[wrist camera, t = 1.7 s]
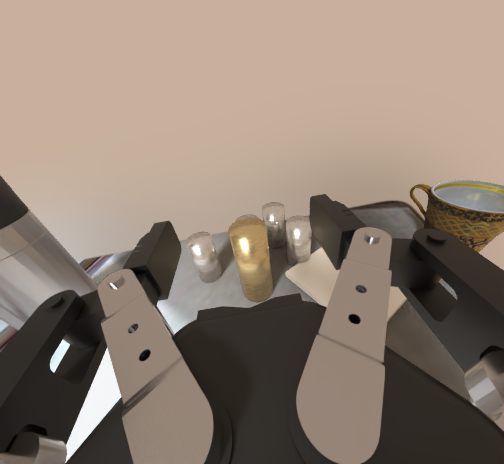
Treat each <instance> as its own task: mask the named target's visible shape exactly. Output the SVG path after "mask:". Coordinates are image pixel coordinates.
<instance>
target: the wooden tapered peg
mask: <svg viewBox="0 0 504 464" xmlns="http://www.w3.org/2000/svg"><path fill="white" fill-rule="evenodd" d="M228 233H229V237H230V241H231V245H232V249H233V253H234V257H235V260H236V264H237V268H238V272H239V276H240V280H241V284H242V288H243V292H244V295H245V297H246V298H247V299H249V300H250V301H253V302H261V301H265V300H266V299H268V298H269V297H270V296H271V295H272V293H273V281H272V273H271V264H270V255H269V247H268V238H267V229H266V224H265V222H264V221H262V220H260V219H257V218H245V219H241V220H238V221H236V222H235V223H233V224H232V225H231V226H230V227H229V230H228Z"/></svg>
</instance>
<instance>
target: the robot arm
mask: <svg viewBox="0 0 504 464" xmlns="http://www.w3.org/2000/svg"><path fill="white" fill-rule="evenodd" d="M310 227H311V230H312V232H313V233H314V235H315V236H316V238H317V240H318V241H319V243H320V245H321V246H322V248H323V250H324V251H325V253H326V255H327V256H328V258H329V259H330V261H331V263H332V264H333V266H334V268H335V269H336V270H340V271H339V274H338V277H337V280H336V283H335V286H334V289H333V292H332V295H331V297H330V300H329V303H328V306H327V307H325V306H323V305H320V304H317V303H313V302H308V301H302V298H301V295H300V293H298V294H292V295H286V296H280V297H275V298H272V299H270V300H268V301H265V302H263V303H260V304H258V305H256V306H253V307H251V308H240V307H224V306H223V307H217V308H211V309H205V310H200V311H198V315H197V320H195V321H193V322H191V323H189V324H187V325H186V326H184V327H183V328H182V329H180V330H179V331H178V332H177V333H176V334H174V333H173V331H172V329H171V328H170V326H169V325H168V323H167V321H166V320H165V318H164V317H163V315H162V313H161V312H160V310H159V309H158V307H157V306H156V305H157V302H158V301H159V300H165V299H168V296H169V292H170V289H171V285H172V282H173V279H174V275H175V272H176V268H177V265H178V261H179V258H180V255H181V244H180V241H179V239H178V237H177V235H176V233H175V230H174V228H173V226H172V224H171V222H170V221H165V222H159V223H155V224H154V225H153V227H152V229H151V231H150V232H149V233H147V234H146V235H145V236H144V237H143V238H141V239H140V241H139V242H138V244H137V246H136V247H135V249H134V251H133V253H132V254H131V256H130V257H129V259H128V261H127V262H126V264H125V266H124V267H123V269H122V270H118V271H116V272H114V273H112V274H110V275H109V276H107V277H106V278H105V279H104V280H103V281H102V282H101V283H100V284H99V286H98V285H97V284H96V282H94V281H93V280H92V278H91V277H90V276H89V275H88V274H87V273H86V272H85V271H84V269H83V268H82V267H81V266H80V265H79V264H78V263H77V262H76V261H75V259H74V258H73V257H72V256H71V255H70V254H69V253H68V252H67V251H66V249H65V248H64V247H63V246H62V245H61V244H60V243H59V242H58V241H57V239H55V237H54V236H53V235H52V234H51V233H50V232H49V231H48V230H47V228H46V227H45V226H44V225H43V224H42V223H41V222H40V221H39V220H38V218H37V217H36V216H35V215H34V214H33V213H32V212H31V211H30V210H29V209H28V207H27V206H26V205H25V204H24V203H23V202H22V201H21V200H20V199H19V197H18V196H17V195H16V194H15V193H14V191H13V190H12V189H11V188H10V186H9V185H8V184H7V183H6V182H5V180H4V179H3V178H2V177H1V176H0V319H1V320H3V321H4V322H6V323H7V324H9V325H10V326H12V327H14V328H15V329H17V330H18V332H17V333H16V334H15V336H14V337H13V338H12V339H11V340H10V342H9V343H8V344H7V345H6V346H5V348H4V349H3V350H2V351H1V352H0V464H504V270H502V269H500V268H499V267H498V266H496V265H495V264H493V263H492V262H490V261H489V260H488V259H486V258H485V257H483V256H482V255H480V254H479V253H478V252H476V251H475V250H473V249H472V248H470V247H469V246H467V245H466V244H465V243H463V242H462V241H460V240H459V239H457V238H456V237H454V236H453V235H451V234H449V233H447V232H444V231H441V230H436V229H420V230H417V231H416V232H415V233H414V235H413V238H412V239H395V238H391V236H390V235H389V234H388V233H387V232H385V231H383V230H381V229H378V228H372V227H367V226H366V225H365V224H363V223H362V222H361V221H360V220H359V219H358V218H357V217H356V216H355V215H353V213H352V212H351V211H349V209H348V208H347V207H346V206H345V205H344V204H341V203H339V202H337V201H332V200H331V199H330V198H329V197H328V196H327V195H326V194H323V195H317V196H312V197H311V198H310ZM441 278H442V279H443V280H444V281H445V282H446V283H447V284H448V285H450V286H451V287H452V288H453V290H454V291H455V293H456V295H457V299H458V300H456V299H455V298H454V297H453V296H452V295H451V294H450V293H449V292H448V291H447V290H446V289H445V288H444V287H443V286H442V285H441V284H440V283H439V280H440V279H441ZM390 286H391V287H398V288H399V289H400V291H401V292H402V293H403V294H404V296H405V297H406V298H407V299H408V301H409V302H410V303H411V305H412V306H413V307H414V308H415V310H416V311H417V312H418V313H419V315H420V316H421V317H422V319H423V320H424V321H425V322H426V324H427V325H428V326H429V327H430V329H431V330H432V331H433V333H434V334H435V335H436V336H437V338H438V339H439V340H440V341H441V343H442V344H443V345H444V346H445V348H446V349H447V350H448V352H449V353H450V354H451V355H452V357H453V358H454V359H455V360H456V362H457V363H458V364H459V366H460V367H461V368H462V369H463V371H464V372H465V375H464V382H465V386H466V388H467V391H468V392H469V394H470V401H471V403H470V402H469V401H467V400H466V399H465V398H463V397H462V396H460V395H459V394H457V393H456V392H454V391H453V390H451V389H450V388H448V387H447V386H445V385H444V384H442V383H441V382H439V381H438V380H436V379H435V378H433V377H432V376H430V375H429V374H427V373H426V372H424V371H423V370H421V369H420V368H418V367H417V366H415V365H414V364H412V363H411V362H409V361H408V360H406V359H405V358H403V357H402V356H400V355H399V354H397V353H396V352H394V351H393V350H391V349H390V348H388V347H387V346H385V338H386V328H387V317H388V307H389V296H390ZM62 339H63V340H65V341H66V342H68V343H69V344H70V346H69V348H68V350H67V352H66V353H65V355H64V357H63V359H62V360H61V362H60V364H59V366H58V367H57V369H56V371H55V373H53V372H52V371H51V369H50V360H51V357H52V356H53V354H54V352H55V351H56V349H57V348H58V346H59V344H60V343H61V341H62ZM107 347H108V351H109V354H110V358H111V361H112V365H113V368H114V372H115V375H116V379H117V382H118V386H119V389H120V393H121V396H122V397H121V398H120V399H119V400H118V402H117V403H116V404H115V405H114V406H113V408H112V409H111V410H110V411H109V412H108V414H107V415H106V416H105V417H104V418H103V419H102V421H101V422H100V423H99V424H98V425H97V427H96V428H95V429H94V430H93V431H92V433H91V434H90V435H89V436H88V437H87V438H86V440H85V441H84V442H83V443H82V444H81V446H80V447H79V448H78V449H77V450H76V452H75V453H74V454H73V455H72V456H71V457H70V459H69V460H68V461H67V462H66V463H65V461H66V456H67V449H66V444H67V441H68V439H69V437H70V434H71V432H72V430H73V427H74V425H75V422H76V420H77V418H78V415H79V413H80V411H81V408H82V406H83V403H84V401H85V399H86V396H87V394H88V391H89V389H90V387H91V384H92V382H93V380H94V377H95V375H96V372H97V370H98V368H99V365H100V363H101V361H102V358H103V356H104V353H105V351H106V349H107Z"/></svg>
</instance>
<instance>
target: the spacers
mask: <svg viewBox="0 0 504 464" xmlns="http://www.w3.org/2000/svg"><path fill="white" fill-rule="evenodd" d="M262 212H263V221H264V222H265V224H266V229H267V238H268V246H269V247H271V248H280V247H282V246H284V245H285V243H286V238H287V260H288V263H289V264H290V265H292V266H295V265H296V264H298V263H304V262H307V261H308V260H309V259H310V254H311V232H312V230H311V227H310V219H309V218H308V217H305V216H294V217H291V218H289V219H288V220H287V221H286V235H285V216H284V205H283V204H281V203H276V202H273V203H268V204H266V205H264V206H263V207H262ZM245 218H257V219H259V218H258V217H257V216H255V215H244V216H241V217H239V218H238V219H237V220H236V221H238V220H241V219H245ZM186 245H187V248H188V250H189V252H190V255H191V257H192V259H193V262H194V264H195V266H196V269H197V271H198V273H199V276H200V278H201V280H202V281H203V282H206V283H211V282H214V281H216V280H218V279H219V278H220V277H221V275H222V269H221V266H220V262H219V259H218V256H217V253H216V250H215V247H214V244H213V241H212V238H211V235H210V234H209V233H208V232H198V233H195V234H193V235H191V236H190V237H189V238H188V239H187V240H186Z"/></svg>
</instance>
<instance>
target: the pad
mask: <svg viewBox="0 0 504 464" xmlns="http://www.w3.org/2000/svg"><path fill="white" fill-rule="evenodd" d="M339 271H340V270H336V269H335V268H334V266H333V264H332V263H331V261H330V259H329V258H328V256H327V255H326V253H325V251H324V250H323V248H322V247H321V248H320V249H318V250H317V251H315V252H314V253H312V254H311V255H310V259H309V260H308V261H307V262H304V263H298V264H296V265H295V266H294V267H292V268H291V269H289V270H288V271H286V272H285V273H286V277H287V278H288V279H290V280H291V281H292V282H293V283H294V284H296V285H297V286H298V287H299V288H301V289H302V290H303V291H304V292H305V293H307V294H308V295H309V296H310V297H311V298H313V299H314V300H315V301H316V302H318V303H319V304H320V305H323V306H325V307H327V306H328V303H329V300H330V297H331V295H332V292H333V289H334V286H335V283H336V280H337V277H338V274H339ZM406 300H407V298H406V297H405V296H404V294H403V293H402V292H401V291H400V289H399V288H398V287H391V286H390V296H389V307H388V317H387V322H388V321H389V319H390V318H391V317H392V316H393V315H394V314H395V313H396V311H397V310H398V309H399V308H400V307H401V306H402V305H403V303H404V302H405V301H406Z"/></svg>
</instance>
